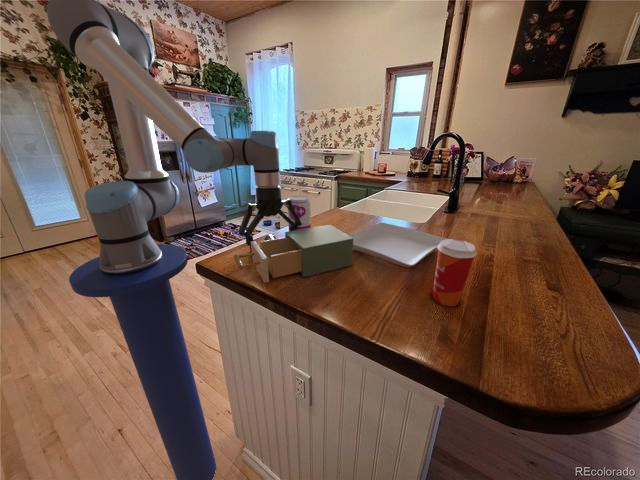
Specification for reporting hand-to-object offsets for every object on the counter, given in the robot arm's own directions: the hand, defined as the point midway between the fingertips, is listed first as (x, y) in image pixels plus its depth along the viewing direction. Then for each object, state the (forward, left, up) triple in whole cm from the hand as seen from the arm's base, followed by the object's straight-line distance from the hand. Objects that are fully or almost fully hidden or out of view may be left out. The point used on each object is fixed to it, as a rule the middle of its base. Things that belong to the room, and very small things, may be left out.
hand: (273, 249), depth 85 cm
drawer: (+14, -4, +1) cm, 15 cm away
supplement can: (-7, +13, 0) cm, 15 cm away
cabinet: (+14, +10, 0) cm, 17 cm away
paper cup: (+45, +28, 0) cm, 53 cm away
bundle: (0, 0, 0) cm, 0 cm away
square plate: (+17, +37, 0) cm, 40 cm away
